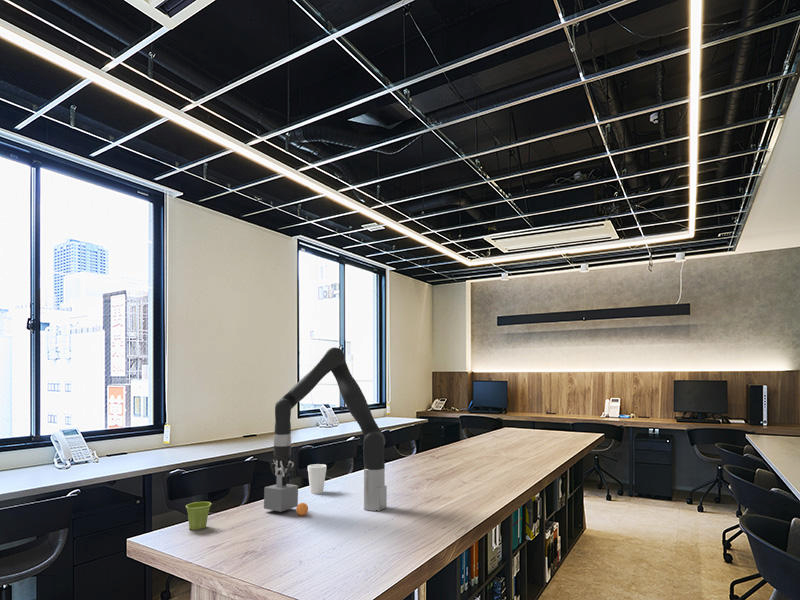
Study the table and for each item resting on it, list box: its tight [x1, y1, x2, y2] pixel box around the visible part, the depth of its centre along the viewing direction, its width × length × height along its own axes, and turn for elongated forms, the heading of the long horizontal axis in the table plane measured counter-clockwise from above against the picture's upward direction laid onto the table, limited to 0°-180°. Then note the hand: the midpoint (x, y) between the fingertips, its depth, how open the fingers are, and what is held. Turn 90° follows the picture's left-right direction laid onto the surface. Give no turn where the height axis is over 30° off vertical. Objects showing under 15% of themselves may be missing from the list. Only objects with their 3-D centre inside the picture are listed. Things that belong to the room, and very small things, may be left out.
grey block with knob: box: [263, 473, 299, 513], centre depth 222 cm, size 10×10×14 cm
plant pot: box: [185, 501, 212, 531], centre depth 198 cm, size 9×9×9 cm
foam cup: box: [307, 463, 327, 495], centre depth 255 cm, size 10×9×13 cm
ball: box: [295, 502, 309, 517], centre depth 214 cm, size 5×5×5 cm
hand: (281, 484), depth 222 cm, fingers closed on grey block with knob, 3 cm apart
